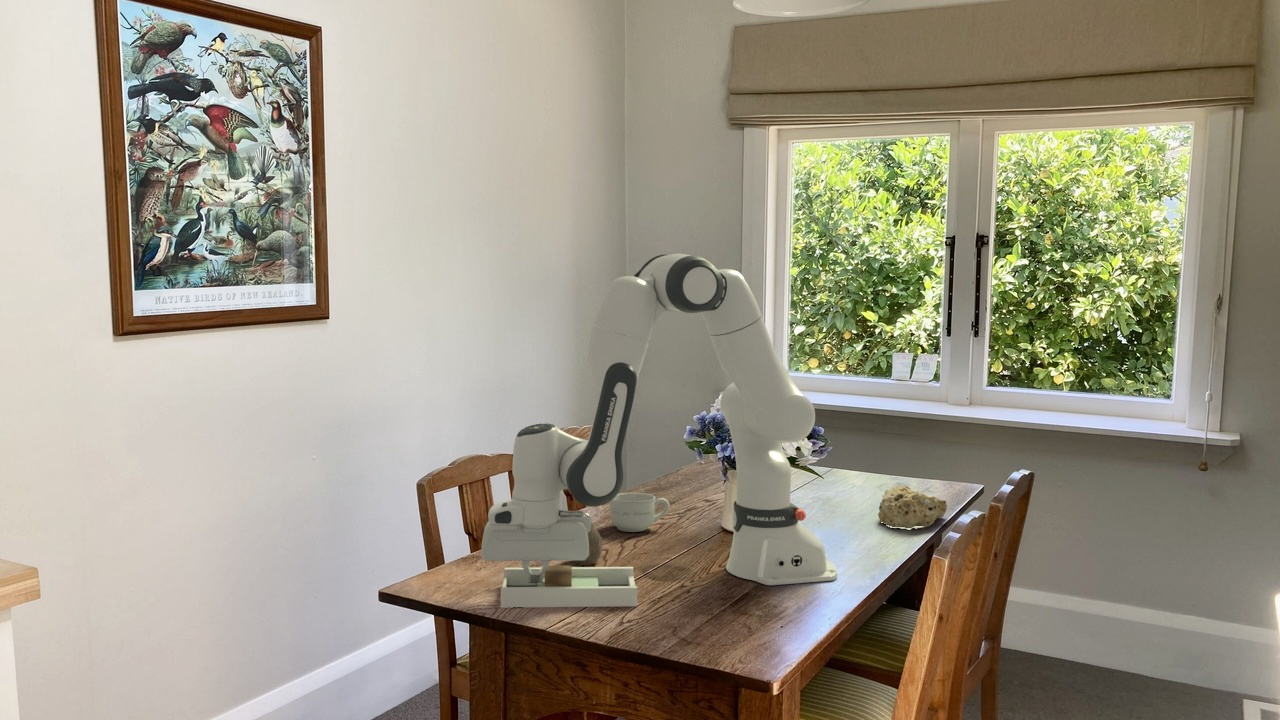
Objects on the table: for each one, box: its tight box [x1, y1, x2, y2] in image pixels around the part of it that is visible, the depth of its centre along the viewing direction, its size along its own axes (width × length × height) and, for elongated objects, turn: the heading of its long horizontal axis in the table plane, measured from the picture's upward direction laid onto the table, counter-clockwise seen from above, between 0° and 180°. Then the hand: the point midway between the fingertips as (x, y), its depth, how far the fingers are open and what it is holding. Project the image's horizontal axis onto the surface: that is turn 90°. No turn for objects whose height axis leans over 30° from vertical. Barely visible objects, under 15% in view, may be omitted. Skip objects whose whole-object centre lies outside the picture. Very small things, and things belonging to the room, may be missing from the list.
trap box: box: [500, 566, 639, 609], centre depth 184 cm, size 25×12×4 cm, turn 94°
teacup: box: [609, 492, 671, 533], centre depth 228 cm, size 14×11×8 cm
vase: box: [573, 521, 603, 566], centre depth 204 cm, size 7×7×9 cm
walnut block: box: [545, 565, 573, 587], centre depth 184 cm, size 5×5×3 cm
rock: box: [878, 485, 948, 529], centre depth 240 cm, size 21×14×10 cm
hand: (535, 582), depth 184 cm, fingers closed
